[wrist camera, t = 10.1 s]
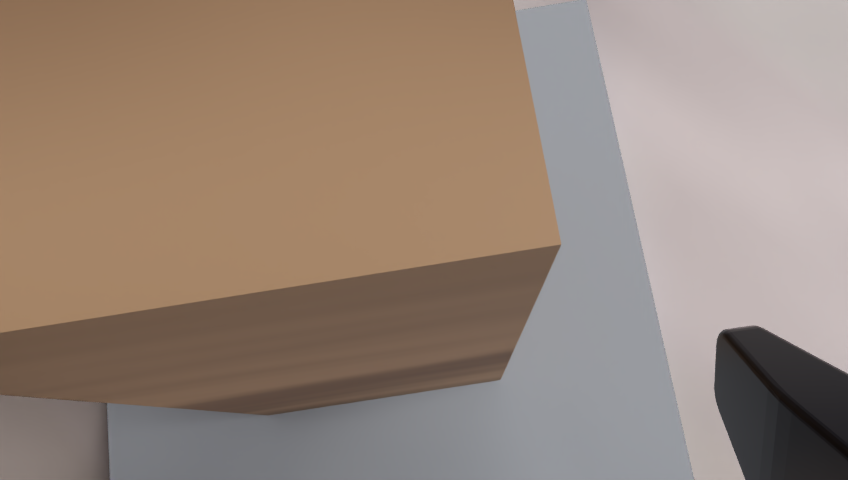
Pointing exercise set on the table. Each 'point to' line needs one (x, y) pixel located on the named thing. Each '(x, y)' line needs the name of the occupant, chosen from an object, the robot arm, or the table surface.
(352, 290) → the walnut block
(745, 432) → the robot arm
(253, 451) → the coaster
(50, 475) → the table surface
